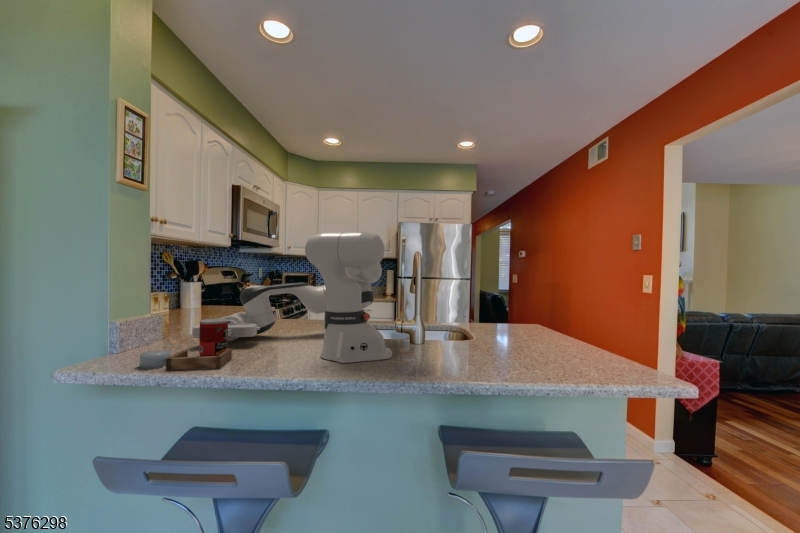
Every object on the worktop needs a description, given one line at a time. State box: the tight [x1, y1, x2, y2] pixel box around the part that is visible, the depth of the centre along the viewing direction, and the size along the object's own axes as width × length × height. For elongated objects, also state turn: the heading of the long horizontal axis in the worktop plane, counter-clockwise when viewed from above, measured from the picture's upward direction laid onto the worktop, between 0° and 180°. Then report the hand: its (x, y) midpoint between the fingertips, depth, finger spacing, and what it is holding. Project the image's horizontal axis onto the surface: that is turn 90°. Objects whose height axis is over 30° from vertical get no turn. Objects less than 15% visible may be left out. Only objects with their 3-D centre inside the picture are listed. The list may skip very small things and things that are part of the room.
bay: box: [165, 348, 233, 371], centre depth 98 cm, size 13×10×3 cm
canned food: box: [198, 318, 229, 357], centre depth 108 cm, size 8×8×11 cm
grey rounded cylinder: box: [139, 349, 171, 370], centre depth 96 cm, size 7×7×4 cm
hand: (218, 334), depth 113 cm, fingers closed
